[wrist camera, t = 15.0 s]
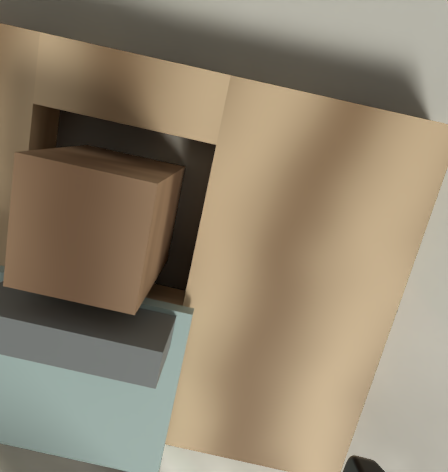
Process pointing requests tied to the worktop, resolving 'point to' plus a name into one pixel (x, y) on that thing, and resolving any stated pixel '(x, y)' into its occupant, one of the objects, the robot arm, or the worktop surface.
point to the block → (90, 224)
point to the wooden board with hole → (256, 236)
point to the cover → (89, 378)
